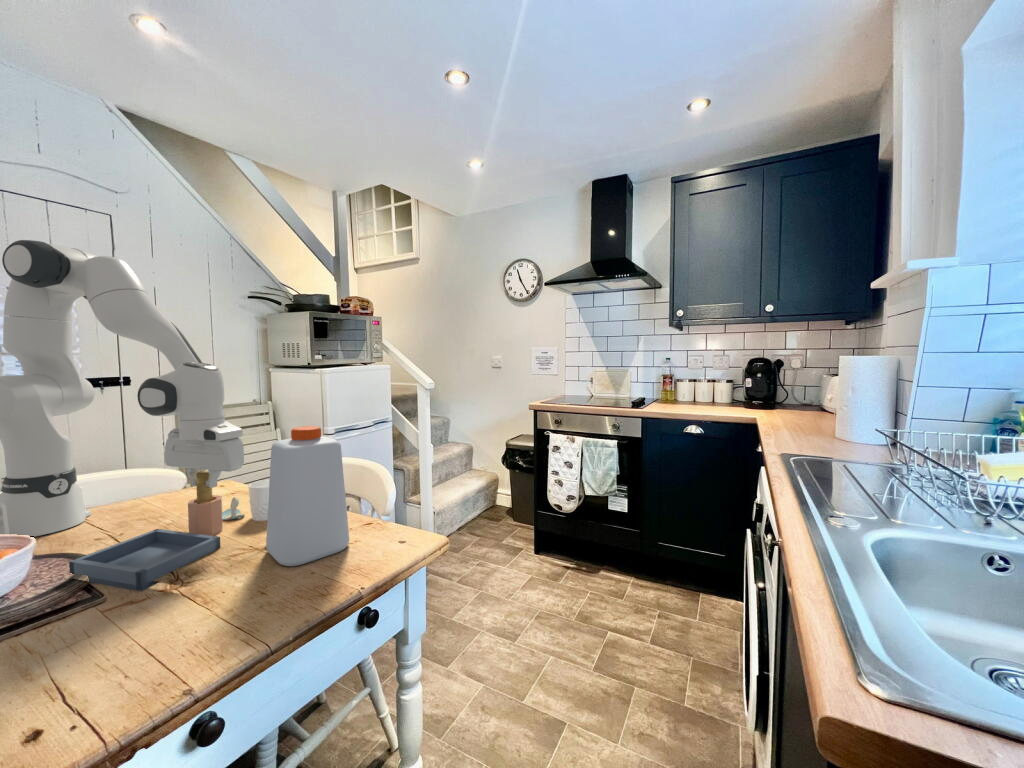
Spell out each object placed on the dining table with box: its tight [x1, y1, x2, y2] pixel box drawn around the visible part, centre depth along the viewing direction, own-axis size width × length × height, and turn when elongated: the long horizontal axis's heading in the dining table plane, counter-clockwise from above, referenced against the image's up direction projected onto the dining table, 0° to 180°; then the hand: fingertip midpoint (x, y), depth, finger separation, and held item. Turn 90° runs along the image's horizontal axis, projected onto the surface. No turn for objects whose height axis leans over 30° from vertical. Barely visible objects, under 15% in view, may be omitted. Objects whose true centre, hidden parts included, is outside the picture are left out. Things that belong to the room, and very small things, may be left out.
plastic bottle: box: [265, 425, 350, 567], centre depth 92 cm, size 15×15×28 cm
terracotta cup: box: [187, 494, 224, 536], centre depth 99 cm, size 6×6×9 cm
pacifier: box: [222, 496, 245, 521], centre depth 108 cm, size 7×6×6 cm
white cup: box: [248, 478, 270, 522], centre depth 109 cm, size 8×8×10 cm
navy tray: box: [68, 528, 221, 592], centre depth 85 cm, size 18×16×4 cm
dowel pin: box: [195, 470, 213, 503], centre depth 98 cm, size 3×3×14 cm
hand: (204, 486), depth 98 cm, fingers closed on dowel pin, 3 cm apart
